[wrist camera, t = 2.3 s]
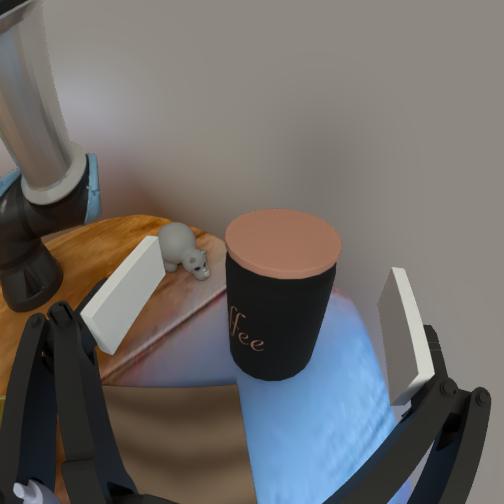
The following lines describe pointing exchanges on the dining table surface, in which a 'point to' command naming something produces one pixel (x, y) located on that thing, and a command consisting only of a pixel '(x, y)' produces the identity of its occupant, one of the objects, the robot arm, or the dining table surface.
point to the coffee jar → (278, 289)
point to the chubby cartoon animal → (182, 250)
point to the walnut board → (183, 442)
